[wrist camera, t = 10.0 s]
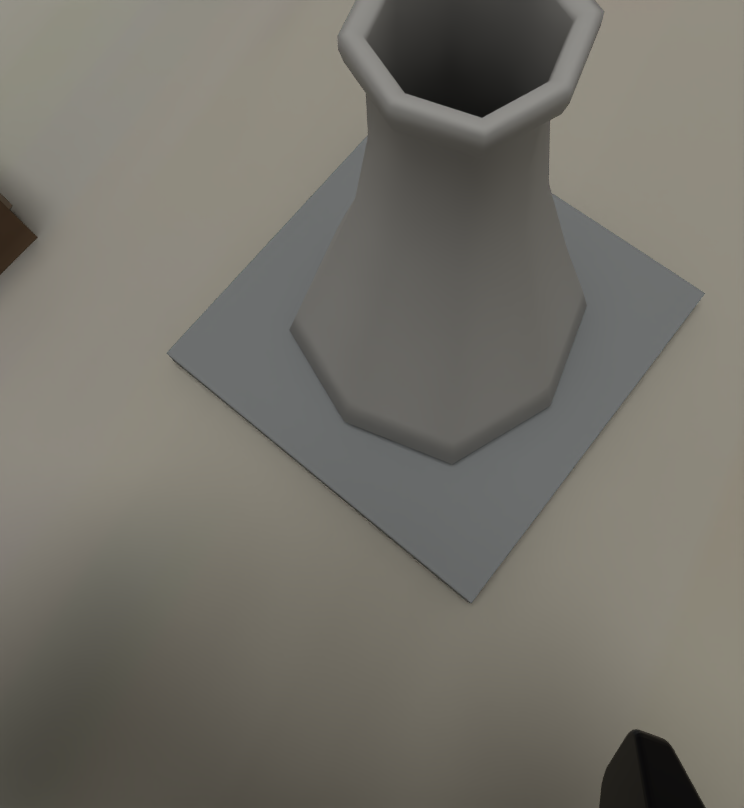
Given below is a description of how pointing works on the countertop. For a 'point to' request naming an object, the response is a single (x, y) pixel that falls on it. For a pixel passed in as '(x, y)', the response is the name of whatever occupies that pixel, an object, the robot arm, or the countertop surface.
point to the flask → (451, 223)
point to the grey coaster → (403, 466)
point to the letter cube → (12, 235)
